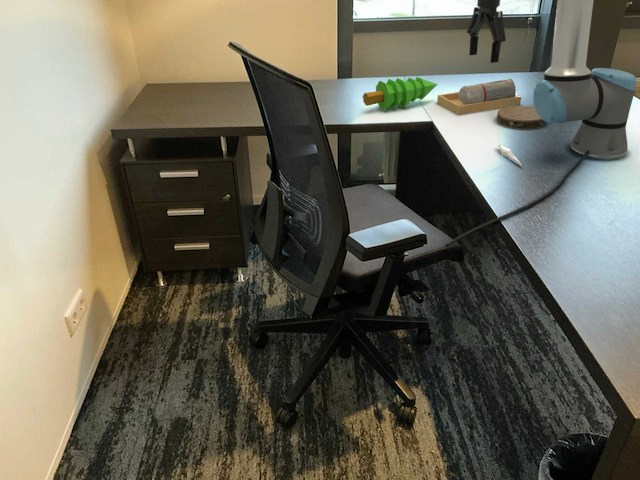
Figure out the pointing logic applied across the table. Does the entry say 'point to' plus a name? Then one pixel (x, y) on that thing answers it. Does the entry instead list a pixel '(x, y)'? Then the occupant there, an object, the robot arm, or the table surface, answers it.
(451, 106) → the tray
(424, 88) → the decorative tree
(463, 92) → the spray can
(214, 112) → the table surface
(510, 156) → the white toy shark
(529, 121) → the brown wooden disc
